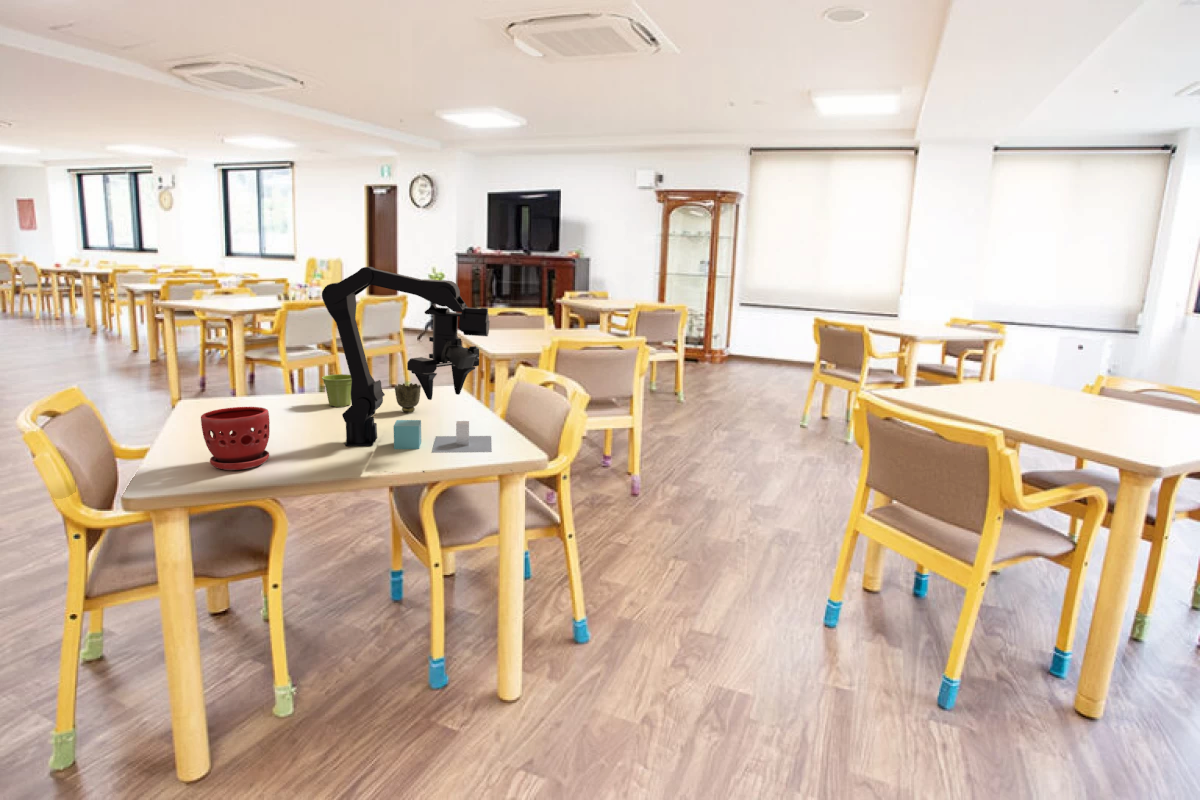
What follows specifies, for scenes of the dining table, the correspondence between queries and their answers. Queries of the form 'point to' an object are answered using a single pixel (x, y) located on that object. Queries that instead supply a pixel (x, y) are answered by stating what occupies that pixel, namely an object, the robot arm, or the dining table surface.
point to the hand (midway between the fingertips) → (443, 396)
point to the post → (462, 433)
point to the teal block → (407, 434)
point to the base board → (449, 445)
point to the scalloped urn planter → (407, 396)
